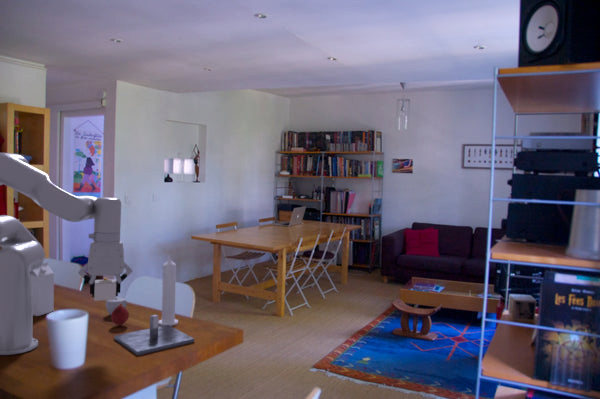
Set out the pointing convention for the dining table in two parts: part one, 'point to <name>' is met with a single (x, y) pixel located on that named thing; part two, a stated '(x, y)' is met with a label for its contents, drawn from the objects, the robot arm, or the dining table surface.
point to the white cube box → (105, 289)
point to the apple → (115, 304)
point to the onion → (120, 315)
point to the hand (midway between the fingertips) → (105, 295)
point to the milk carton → (42, 289)
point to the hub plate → (153, 338)
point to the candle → (168, 294)
